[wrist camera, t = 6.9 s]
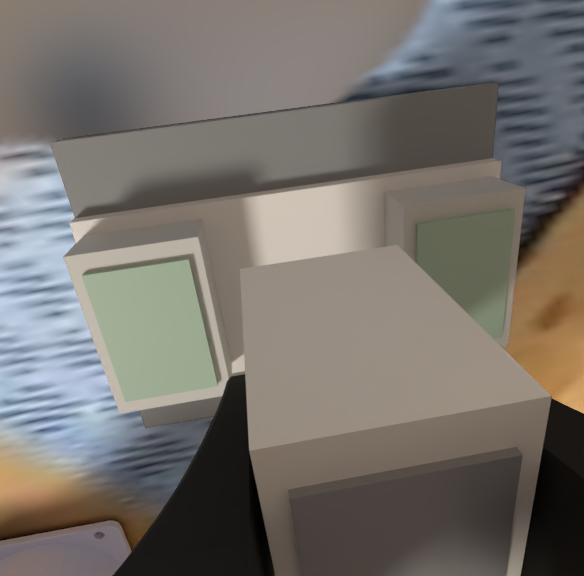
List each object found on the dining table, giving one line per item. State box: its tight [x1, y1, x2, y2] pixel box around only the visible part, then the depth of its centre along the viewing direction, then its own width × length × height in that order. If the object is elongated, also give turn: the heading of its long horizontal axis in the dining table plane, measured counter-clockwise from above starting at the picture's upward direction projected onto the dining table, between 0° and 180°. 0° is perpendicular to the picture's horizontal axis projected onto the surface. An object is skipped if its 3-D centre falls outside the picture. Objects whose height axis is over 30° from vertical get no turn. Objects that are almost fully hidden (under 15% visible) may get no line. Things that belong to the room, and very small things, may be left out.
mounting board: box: [50, 83, 526, 428], centre depth 17 cm, size 15×12×4 cm
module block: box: [240, 245, 552, 576], centre depth 10 cm, size 4×6×6 cm, turn 7°
